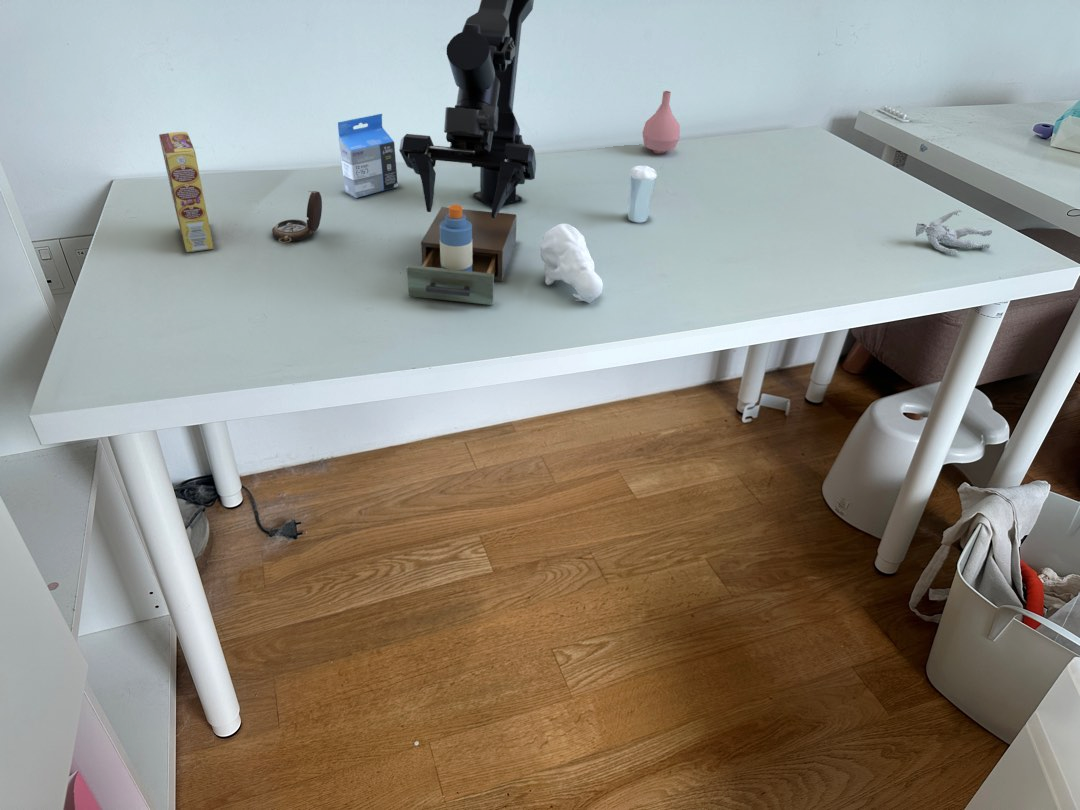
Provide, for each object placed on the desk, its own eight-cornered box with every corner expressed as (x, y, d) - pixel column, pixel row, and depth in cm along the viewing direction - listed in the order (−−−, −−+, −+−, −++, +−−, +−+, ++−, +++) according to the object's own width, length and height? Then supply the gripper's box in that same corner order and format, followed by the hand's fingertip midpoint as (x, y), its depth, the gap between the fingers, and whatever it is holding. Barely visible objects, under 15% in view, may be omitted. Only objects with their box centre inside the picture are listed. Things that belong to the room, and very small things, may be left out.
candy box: (217, 249, 121) (195, 150, 111) (186, 253, 119) (162, 153, 110) (208, 226, 127) (187, 130, 118) (180, 230, 125) (156, 133, 116)
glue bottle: (435, 277, 114) (432, 205, 107) (461, 269, 116) (460, 198, 109) (452, 290, 111) (450, 216, 104) (478, 282, 113) (478, 209, 107)
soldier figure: (989, 264, 131) (932, 242, 128) (965, 271, 136) (909, 251, 132) (994, 220, 132) (938, 198, 129) (970, 229, 137) (915, 207, 134)
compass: (278, 225, 128) (271, 181, 124) (327, 227, 128) (322, 184, 124) (263, 246, 122) (255, 201, 118) (314, 249, 122) (308, 204, 118)
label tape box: (355, 199, 138) (348, 128, 131) (343, 191, 140) (336, 121, 133) (398, 188, 143) (394, 119, 135) (386, 181, 145) (381, 112, 138)
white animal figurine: (575, 214, 115) (621, 255, 108) (568, 265, 121) (612, 307, 114) (538, 222, 113) (582, 264, 105) (533, 273, 118) (574, 317, 111)
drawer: (431, 255, 122) (429, 228, 119) (508, 262, 121) (508, 235, 118) (405, 302, 110) (403, 273, 107) (490, 311, 109) (490, 282, 106)
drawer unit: (442, 236, 128) (441, 206, 125) (515, 243, 127) (516, 214, 124) (422, 273, 118) (420, 242, 114) (501, 281, 117) (502, 250, 114)
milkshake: (654, 226, 135) (662, 169, 129) (622, 222, 135) (629, 165, 129) (656, 216, 138) (664, 159, 132) (626, 212, 139) (632, 156, 133)
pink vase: (633, 152, 164) (640, 92, 157) (651, 142, 169) (658, 84, 162) (666, 161, 160) (675, 100, 153) (683, 151, 166) (693, 91, 158)
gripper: (398, 73, 106) (380, 183, 104) (536, 85, 104) (521, 196, 102) (416, 116, 117) (400, 216, 115) (541, 127, 115) (528, 228, 113)
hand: (460, 214), depth 111 cm, fingers open, 9 cm apart
